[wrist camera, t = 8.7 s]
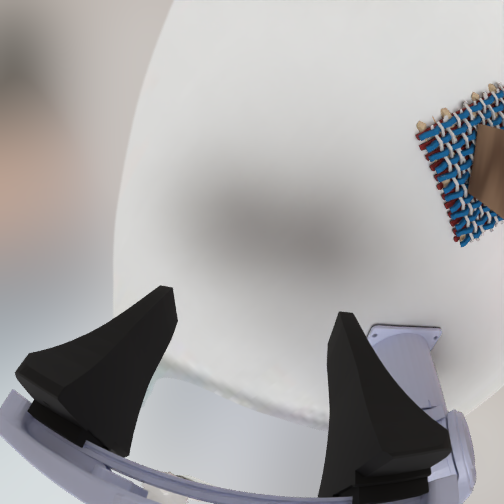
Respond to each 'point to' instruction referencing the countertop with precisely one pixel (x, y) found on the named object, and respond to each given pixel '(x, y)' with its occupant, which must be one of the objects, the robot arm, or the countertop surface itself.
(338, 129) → the countertop surface
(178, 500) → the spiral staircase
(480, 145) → the walnut block
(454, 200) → the woven mat
